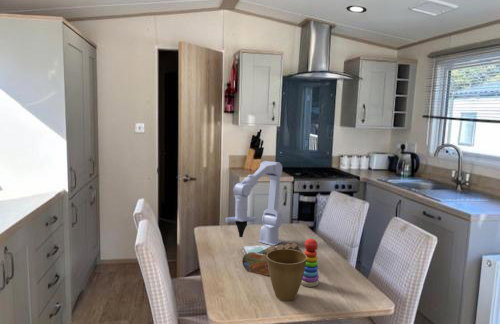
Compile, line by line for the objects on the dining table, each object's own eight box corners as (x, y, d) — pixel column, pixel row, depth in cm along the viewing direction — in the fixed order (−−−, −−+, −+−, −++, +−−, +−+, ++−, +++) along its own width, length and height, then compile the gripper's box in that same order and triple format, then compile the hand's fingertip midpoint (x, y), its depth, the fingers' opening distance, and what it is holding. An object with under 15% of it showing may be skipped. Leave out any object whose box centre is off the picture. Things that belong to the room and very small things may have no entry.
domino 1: (250, 254, 179) (264, 249, 181) (247, 251, 183) (260, 246, 185) (251, 257, 179) (264, 252, 181) (248, 254, 183) (261, 249, 185)
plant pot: (280, 284, 152) (281, 245, 150) (312, 295, 143) (314, 255, 141) (257, 297, 141) (258, 255, 139) (290, 310, 131) (292, 267, 129)
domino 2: (263, 254, 180) (276, 248, 180) (261, 251, 184) (273, 244, 185) (264, 257, 180) (277, 250, 181) (262, 253, 185) (275, 247, 185)
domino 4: (279, 254, 181) (291, 246, 181) (276, 250, 186) (288, 242, 186) (280, 256, 181) (292, 248, 182) (278, 253, 186) (290, 245, 186)
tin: (241, 270, 165) (242, 251, 164) (245, 267, 168) (245, 249, 167) (273, 277, 158) (273, 258, 157) (276, 274, 161) (276, 256, 160)
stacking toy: (295, 282, 154) (296, 238, 152) (308, 277, 159) (310, 234, 157) (309, 289, 148) (312, 243, 146) (322, 283, 153) (325, 239, 151)
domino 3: (271, 254, 180) (283, 247, 181) (268, 250, 185) (281, 243, 186) (272, 257, 181) (285, 250, 181) (270, 253, 185) (282, 246, 186)
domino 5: (285, 254, 181) (297, 245, 182) (283, 250, 186) (294, 242, 187) (287, 256, 182) (299, 248, 182) (285, 253, 186) (296, 244, 187)
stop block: (295, 257, 181) (296, 251, 181) (291, 251, 188) (292, 246, 188) (301, 256, 182) (302, 251, 181) (297, 251, 189) (297, 246, 188)
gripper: (227, 211, 172) (226, 239, 174) (258, 210, 175) (257, 238, 176) (225, 207, 179) (224, 235, 181) (255, 206, 182) (254, 234, 183)
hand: (240, 236), depth 179 cm, fingers closed
